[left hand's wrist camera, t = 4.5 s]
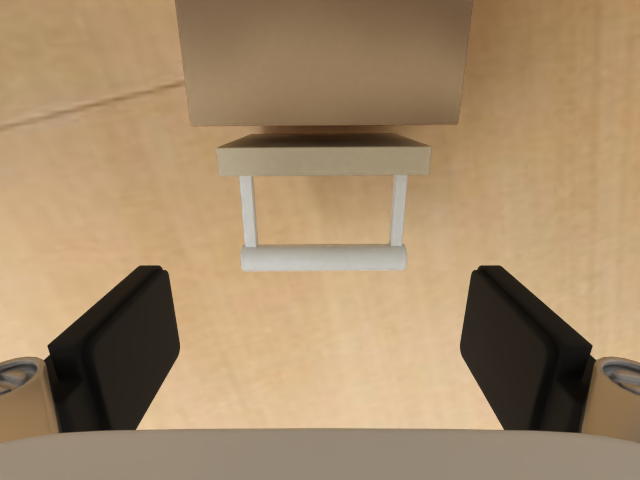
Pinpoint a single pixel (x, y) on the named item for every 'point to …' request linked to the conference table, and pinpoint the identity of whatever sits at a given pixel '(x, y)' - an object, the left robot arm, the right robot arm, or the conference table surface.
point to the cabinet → (323, 61)
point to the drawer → (323, 160)
